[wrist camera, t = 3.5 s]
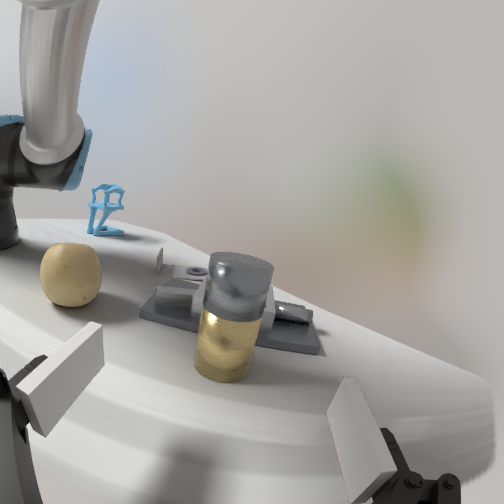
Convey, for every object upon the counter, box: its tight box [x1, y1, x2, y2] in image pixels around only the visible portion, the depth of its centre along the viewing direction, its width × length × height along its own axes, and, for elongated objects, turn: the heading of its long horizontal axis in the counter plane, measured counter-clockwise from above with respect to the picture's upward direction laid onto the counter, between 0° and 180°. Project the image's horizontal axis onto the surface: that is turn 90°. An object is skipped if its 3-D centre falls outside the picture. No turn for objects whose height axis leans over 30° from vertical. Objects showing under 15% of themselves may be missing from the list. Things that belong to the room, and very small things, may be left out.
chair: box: [87, 184, 125, 236], centre depth 59 cm, size 8×8×12 cm
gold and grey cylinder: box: [194, 252, 274, 383], centre depth 23 cm, size 5×5×10 cm
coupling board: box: [140, 275, 320, 355], centre depth 34 cm, size 20×12×4 cm, turn 88°
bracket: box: [157, 248, 208, 281], centre depth 47 cm, size 7×10×4 cm, turn 101°
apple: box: [40, 243, 102, 307], centre depth 27 cm, size 8×8×8 cm
